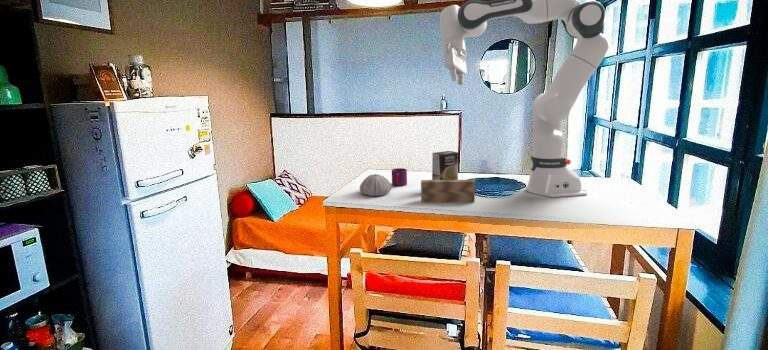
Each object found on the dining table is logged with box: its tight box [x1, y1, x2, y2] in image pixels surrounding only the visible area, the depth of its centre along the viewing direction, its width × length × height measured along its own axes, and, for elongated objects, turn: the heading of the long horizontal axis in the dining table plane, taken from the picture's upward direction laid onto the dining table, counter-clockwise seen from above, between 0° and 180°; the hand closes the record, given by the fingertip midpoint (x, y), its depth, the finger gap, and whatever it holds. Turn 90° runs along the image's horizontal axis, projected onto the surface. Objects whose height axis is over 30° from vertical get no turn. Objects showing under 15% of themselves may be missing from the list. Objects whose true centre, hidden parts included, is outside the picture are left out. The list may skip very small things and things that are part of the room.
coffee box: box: [431, 150, 459, 180], centre depth 166 cm, size 9×6×16 cm
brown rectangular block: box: [420, 179, 476, 203], centre depth 153 cm, size 20×5×8 cm, turn 85°
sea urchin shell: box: [359, 173, 392, 197], centre depth 165 cm, size 13×14×8 cm
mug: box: [391, 167, 408, 187], centre depth 176 cm, size 7×10×7 cm
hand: (457, 82), depth 158 cm, fingers open, 8 cm apart
